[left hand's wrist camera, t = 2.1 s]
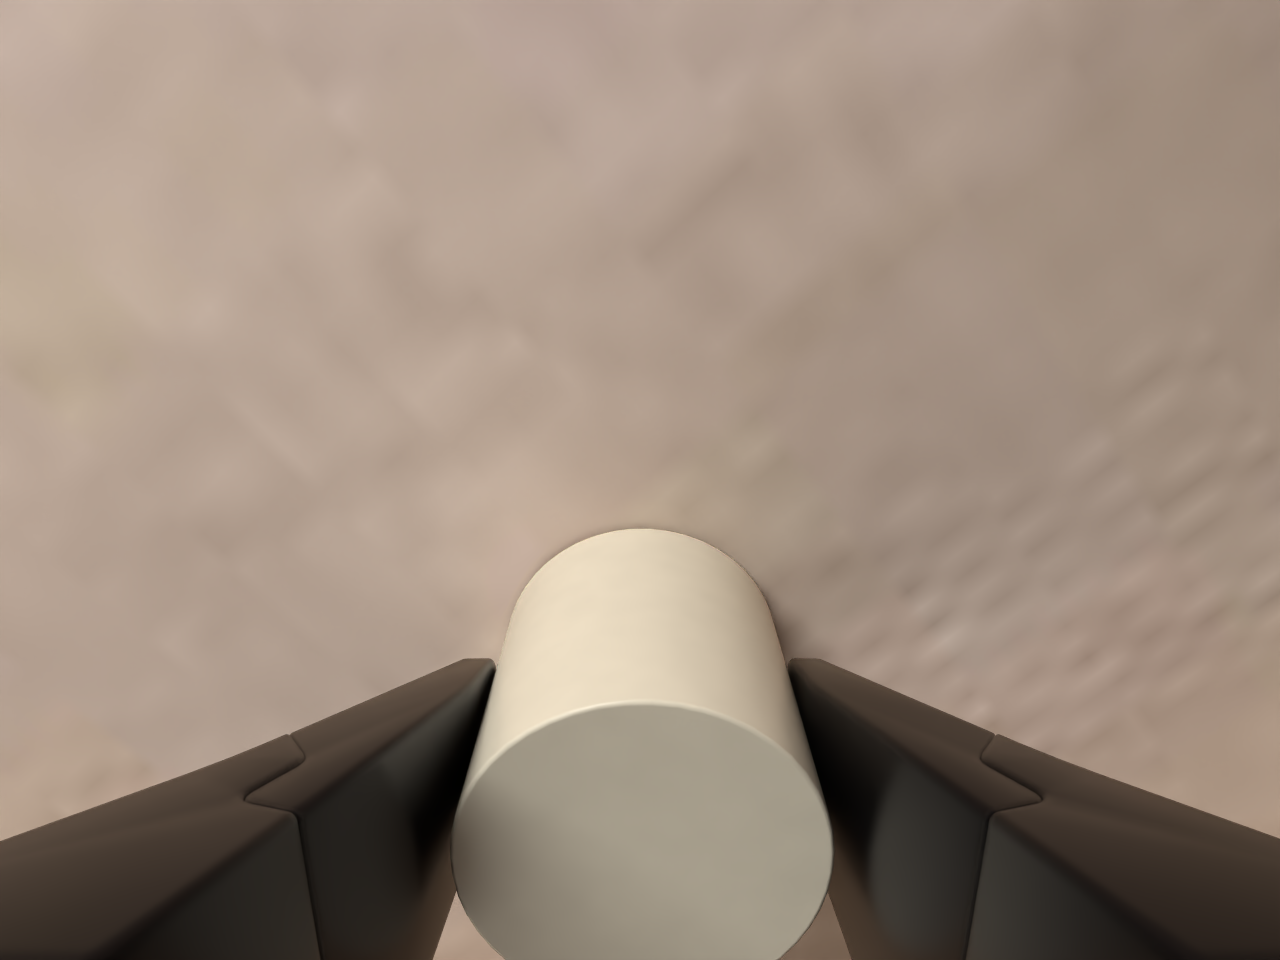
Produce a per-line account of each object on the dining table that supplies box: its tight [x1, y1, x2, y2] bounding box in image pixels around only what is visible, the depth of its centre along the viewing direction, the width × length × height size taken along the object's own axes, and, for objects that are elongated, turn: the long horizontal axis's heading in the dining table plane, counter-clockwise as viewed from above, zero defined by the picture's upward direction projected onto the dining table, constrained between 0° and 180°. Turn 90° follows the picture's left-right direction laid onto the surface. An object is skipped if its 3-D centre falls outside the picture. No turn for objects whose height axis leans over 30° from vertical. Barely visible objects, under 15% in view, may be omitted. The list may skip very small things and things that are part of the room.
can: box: [450, 529, 835, 960], centre depth 11 cm, size 4×4×4 cm
